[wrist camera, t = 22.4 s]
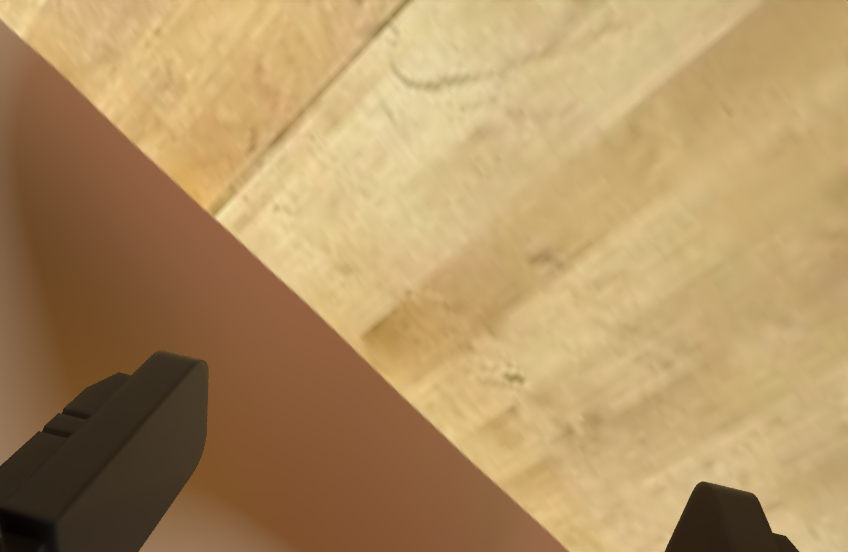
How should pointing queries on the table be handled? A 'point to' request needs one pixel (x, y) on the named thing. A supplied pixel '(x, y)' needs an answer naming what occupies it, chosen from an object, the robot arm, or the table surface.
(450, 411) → the table surface
